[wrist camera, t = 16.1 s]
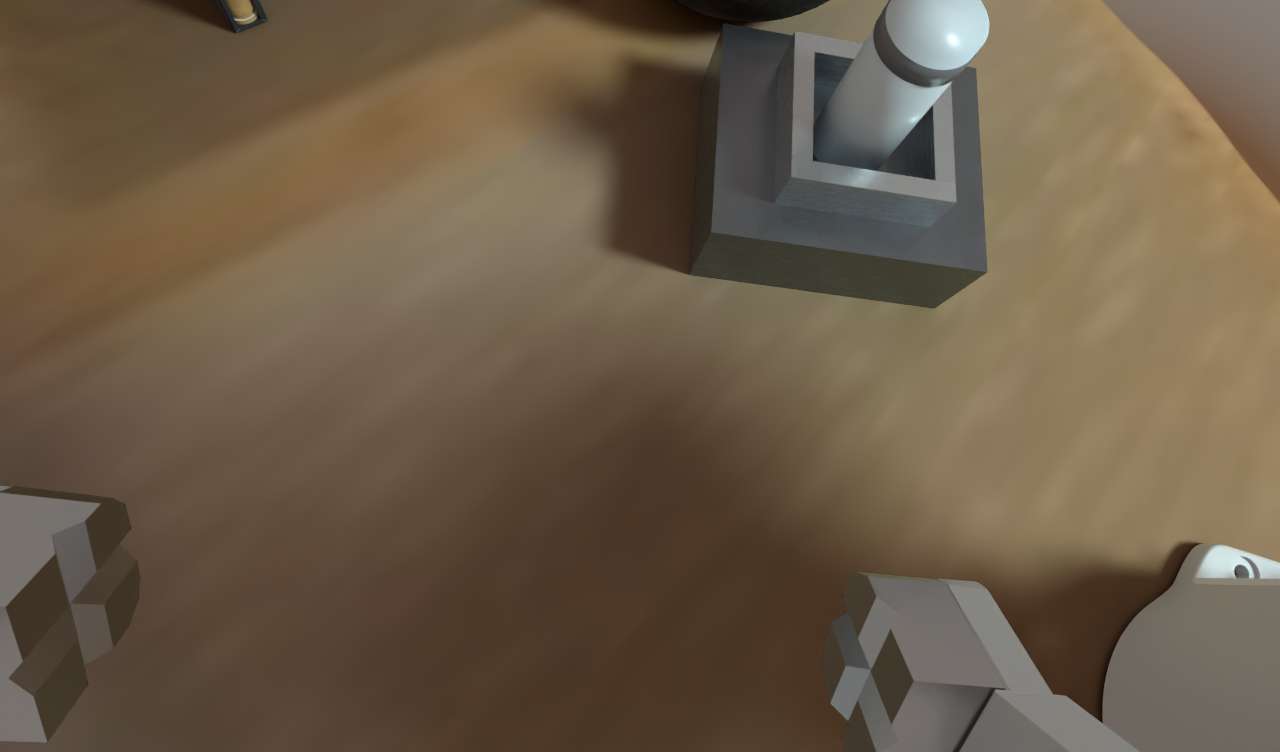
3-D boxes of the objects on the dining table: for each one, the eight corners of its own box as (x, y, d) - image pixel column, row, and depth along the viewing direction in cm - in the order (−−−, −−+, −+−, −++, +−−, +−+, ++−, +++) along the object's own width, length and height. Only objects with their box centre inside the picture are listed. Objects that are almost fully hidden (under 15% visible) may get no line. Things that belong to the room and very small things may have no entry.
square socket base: (928, 122, 46) (1004, 35, 38) (934, 308, 42) (1018, 250, 35) (701, 84, 44) (736, -14, 37) (689, 274, 41) (724, 206, 33)
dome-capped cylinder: (885, 115, 39) (987, -18, 31) (886, 185, 38) (993, 67, 29) (809, 102, 39) (891, -37, 30) (808, 173, 37) (893, 49, 29)
